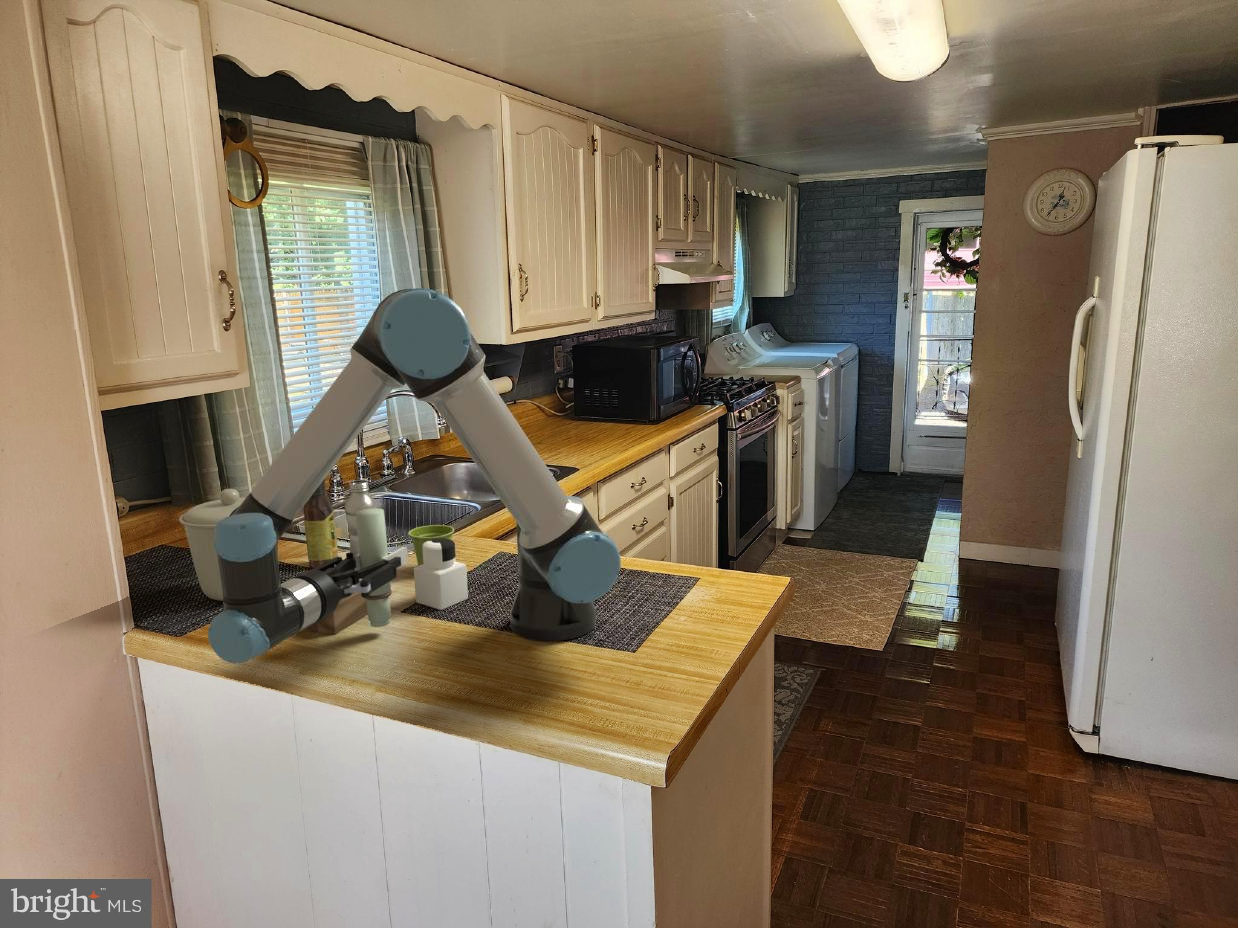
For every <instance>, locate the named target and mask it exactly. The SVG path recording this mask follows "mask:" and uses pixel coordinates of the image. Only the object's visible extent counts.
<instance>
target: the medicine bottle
mask: <svg viewBox="0 0 1238 928" xmlns="http://www.w3.org/2000/svg"><path fill="white" fill-rule="evenodd" d="M422 549H423V563H424V564H422V565H420V566H418V565H417V566H415V567H414V568H413V580H414V581H413V582H414V593H415V602H416V603H417V604H420V605H423V606H426V607H430V608H433V609H436V610H439V611H442V610H445V609H448V608H449V607H451V606H454V605H457V604H459V603H462V602H463V601H466V600H467V599H469V594H468V593H469V592H468V591H469V590H468V573H467V564H466V563H463V562H460V561H457V559H456V558H457V557H456V556H457V555H456V543H455V541H454V540H452V539H451V540H450V539H446V538H436V539H431V540H428V541H427V542H425V543H424V544H423V545H422Z"/></svg>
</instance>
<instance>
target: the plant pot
mask: <svg viewBox="0 0 1238 928" xmlns="http://www.w3.org/2000/svg"><path fill="white" fill-rule="evenodd" d="M454 533H455V528H454V527H452V526H449V525H445V524H443V525H442V524H432V525H423V526H417V527H415V528H413V529H411V530H409V531H408V533H407V534H408V536H409V537H410V539H411V542H412V544H413V548H414V552H415V556H416V562H417V566H420V565H422V564H424V563H423V549H422V545H423V544H424V543H425V542H427V541H428V540H431V539H436V538H446V539H450V540H452V538H453V534H454Z"/></svg>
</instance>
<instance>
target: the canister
mask: <svg viewBox="0 0 1238 928" xmlns="http://www.w3.org/2000/svg"><path fill="white" fill-rule="evenodd" d="M218 497H219V499H216V500H211V501H206V502H203V503H201V504H197V505H195V506H193V507H191V508H189V509H188V510H187V511H186V512H184V513H183V514H182V515H180V516H179V520H178V521H179V523H180V524H181V525H183V526H184V531H185V535H186V539H187V542H188V546H189V550H190V553H191V558H192V561H193V565H194V570H195V572H196V573H195V574H196V577H197V580H198V583H199V586H200V589H201V591H202V592H203V594H204V595H206V597H208V598H209V599H211V600H215V601H218V602H219V601H222V602H223V590H222V583H221V577H220V570H219V564H218V557H217V552H216V551H215V526H216V524H217V523H218V522H219V521H220V520H223V519H224V518H226V517H229V515H230V514H231V513H232V511H233V510H234V509H236V508H237V507H238V506H240V505H241V504H242V502H243V501H244V500H245V498H246V497H247V496H244V497H243V496H242V497H240V492H239V491H238V490H237V489H235V488H226V489H223V490H221V492H219V496H218Z"/></svg>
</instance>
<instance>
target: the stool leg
mask: <svg viewBox="0 0 1238 928" xmlns="http://www.w3.org/2000/svg"><path fill="white" fill-rule="evenodd" d="M385 519H386V517H385V510H384V509H383V508H378V507H377V508H371V509H364V510H360V511H358V512H356V523H357V533H358V544H359V554H360V564H361V569H362V568H365V567H368V566H370V565H373V564H375V563H378V562H381V558H383V557H385V556H387V555H389V552H388V540H387V530H386V520H385ZM391 596H392V583H391V581H390V582H388V583H387V584H385V585H383V586H381V587H380V588H378V589H376V590H375V591H373V592H372V593H371V594H370V596H369V597H364V598H365V599H366V601H367V611H368V615H367V620H368V621H369V623H370V626H371V627H373V628H380V627H381V628H382V627H386V626H387V625H389V624H390V622H391V620H390V619H391V618H392V613H391V612H392V611H391V604H390V603H391V601H390V597H391Z"/></svg>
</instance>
